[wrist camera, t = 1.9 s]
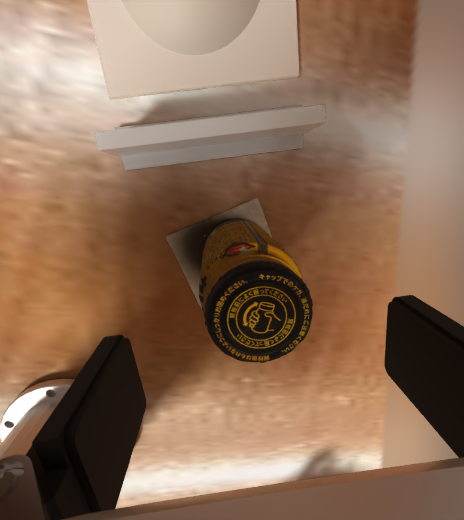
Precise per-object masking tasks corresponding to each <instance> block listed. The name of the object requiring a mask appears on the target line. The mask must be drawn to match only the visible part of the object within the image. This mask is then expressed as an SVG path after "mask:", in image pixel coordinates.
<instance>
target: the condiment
mask: <svg viewBox="0 0 464 520" xmlns="http://www.w3.org/2000/svg"><path fill="white" fill-rule="evenodd" d="M204 235H206V237H204ZM165 238H166V240H167V242H168V244H169V246H170V247H171V249H172V251H173V253H174V255H175V257H176V259H177V261H178V263H179V265H180V267H181V269H182V271H183V273H184V275H185V277H186V278H187V281H188V283H189V286H190V288H191V290H192V292H193V293H194V295H195V298H196V300H197V302H198V304H199V306H200V308H201V307H202V309H203V312H204V316H205V325H206V326H207V329H208V332H209V334H210V336H211V338H212V340H213V341H214V343H215V344H216V345H217V347H218V348H220V349H221V351H223V352H224V353H225V354H227V355H229V356H231V357H233V358H235V359H237V360H240V361H245V362H261V363H263V362H267V361H271V360H274V359H277V358H280V357H281V356H284V355H286V354H287V353H289V352H291V351H292V350H293V349H294V348H295V347H296V346H297V345H298V344H299V343H300V342H301V341H302V340H304V338H305V337H306V335H307V333H308V330H309V328H310V324H311V320H312V305H313V304H312V299H311V296H310V292H309V290H308V288H307V286H306V284H305V283H304V282H303V281H302V278H301V274H300V271H299V269H298V267H297V266H296V263H295V262H294V260H293V259H292V257H291V256H290V255H289V254H288V253H287V252H285V250H284V249H283V248H281V246H280V245H279V244H278V243H277V242H275V240H274V239H273V237H272V234H271V232H270V229H269V226H268V224H267V221H266V218H265V215H264V212H263V210H262V207H261V204H260V201H259V199H258V198H256V199H253V200H251V201H248V202H246V203H244V204H241V205H239V206H236V207H234V208H232V209H229V210H227V211H224V212H222V213H220V214H217V215H215V216H213V217H210V218H208V219H206V220H204V221H201V222H199V223H196V224H194V225H192V226H189V227H186V228H184V229H182V230H180V231H178V232H175V233H173V234H170V235H168V236H166V237H165Z"/></svg>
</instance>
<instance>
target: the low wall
mask: <svg viewBox="0 0 464 520" xmlns="http://www.w3.org/2000/svg"><path fill="white" fill-rule="evenodd" d="M323 123H325V104H323V105H315V106H307V107H302V105H297V106H289V107H280V108H272V109H264V110H256V111H248V112H239V113H231V114H223V115H215V116H207V117H198V118H190V119H182V120H174V121H166V122H158V123H149V124H141V125H133V126H125V127H117V128H115V130H111V131H103V132H95V133H94V135H95V139H96V144H97V148H98V151H102V152H106V153H110V154H114V155H117V156H121V157H122V162H123V166H124V170H126V171H127V170H135V169H143V168H151V167H158V166H166V165H174V164H182V163H190V162H198V161H206V160H213V159H221V158H229V157H237V156H245V155H253V154H260V153H268V152H276V151H284V150H292V149H300V148H303V133H305V132H307V131H309V130H311V129H313V128H315V127H317V126H319V125H321V124H323Z"/></svg>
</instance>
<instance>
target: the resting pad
mask: <svg viewBox="0 0 464 520" xmlns="http://www.w3.org/2000/svg"><path fill="white" fill-rule="evenodd" d="M87 3H88V8H89V12H90V16H91V21H92V25H93V30H94V34H95V39H96V43H97V47H98V52H99V56H100V61H101V65H102V70H103V74H104V78H105V83H106V87H107V92H108V96H109V99H111V100H112V99H120V98H129V97H137V96H145V95H154V94H162V93H171V92H179V91H188V90H196V89H204V88H213V87H221V86H230V85H238V84H246V83H255V82H263V81H272V80H280V79H289V78H297V77H299V56H298V35H297V13H296V0H87Z"/></svg>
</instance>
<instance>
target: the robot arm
mask: <svg viewBox="0 0 464 520" xmlns="http://www.w3.org/2000/svg"><path fill="white" fill-rule="evenodd" d="M385 369H386V372H387V373H388V375H389V376H390V377H391V379H392V380H393V381H394V382H395V383H396V384H397V386H398V387H399V388H400V389H401V390H402V391H403V392H404V394H405V395H406V396H407V397H408V398H409V400H410V401H411V402H412V403H413V404H414V406H415V407H416V408H417V409H418V410H419V411H420V413H421V414H422V415H423V416H424V417H425V418H426V419H427V421H428V422H429V423H430V424H431V425H432V427H433V428H434V429H435V430H436V431H437V432H438V434H439V435H440V436H441V437H442V438H443V440H444V441H445V442H446V443H447V444H448V445H449V447H450V448H451V449H452V450H453V451H454V452H455V454H456V455H457V456H458V457H459V458H454V459H447V460H440V461H433V462H426V463H419V464H412V465H404V466H397V467H390V468H382V469H375V470H368V471H362V472H355V473H348V474H341V475H334V476H327V477H320V478H313V479H306V480H300V481H293V482H286V483H279V484H272V485H265V486H259V487H252V488H245V489H239V490H232V491H226V492H219V493H212V494H206V495H199V496H193V497H186V498H180V499H173V500H166V501H160V502H153V503H148V504H142V505H136V506H130V507H124V508H118V509H115V508H116V504H117V501H118V498H119V494H120V491H121V488H122V484H123V481H124V478H125V475H126V471H127V468H128V465H129V461H130V458H131V455H132V451H133V448H134V445H135V442H136V438H137V435H138V432H139V428H140V425H141V422H142V418H143V415H144V412H145V408H146V398H145V394H144V391H143V387H142V383H141V380H140V376H139V372H138V369H137V365H136V362H135V358H134V354H133V351H132V347H131V343H130V340H129V339H128V338H124V336H123V335H115V336H108V337H104V338H103V340H102V341H101V342H100V344H99V345H98V347H97V348H96V350H95V351H94V353H93V354H92V356H91V357H90V358H89V360H88V361H87V363H86V364H85V366H84V367H83V369H82V370H81V372H80V373H79V374H78V376H77V377H76V379H55V380H49V381H45V382H41V383H38V384H36V385H34V386H32V387H30V388H28V389H26V390H25V391H24V392H22V393H21V394H20V395H19V396H18V397H17V398H16V399H15V400H14V401H13V402H12V403H11V404H10V405H9V407H8V408H7V410H6V411H5V413H4V415H3V417H2V420H1V424H0V436H1V440H2V443H1V444H0V520H464V327H463V326H462V325H460V324H459V323H457V322H455V321H454V320H452V319H450V318H449V317H447V316H446V315H444V314H442V313H441V312H439V311H438V310H436V309H434V308H433V307H431V306H429V305H428V304H426V303H425V302H423V301H421V300H420V299H418V298H416V297H415V296H413V295H408V296H401V297H395V298H393V300H392V302H390V303H389V304H388V314H387V331H386V349H385Z"/></svg>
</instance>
